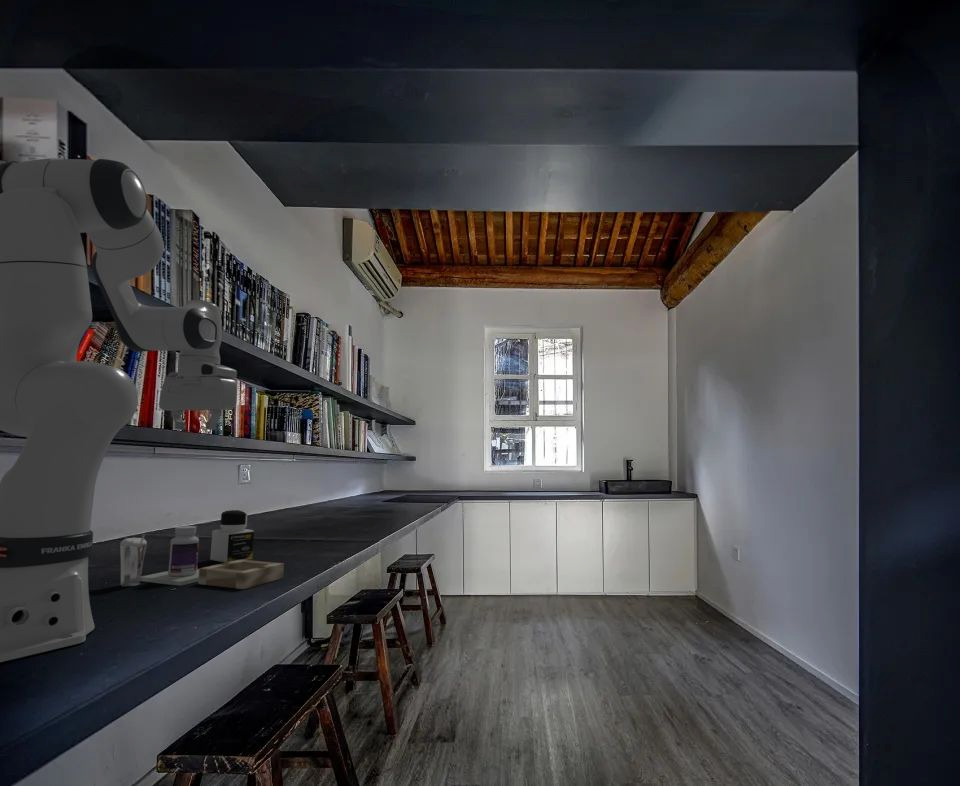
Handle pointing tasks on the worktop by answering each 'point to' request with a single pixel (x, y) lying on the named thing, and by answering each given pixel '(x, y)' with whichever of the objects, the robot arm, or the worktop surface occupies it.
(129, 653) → the worktop surface
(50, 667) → the worktop surface
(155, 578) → the sage mat
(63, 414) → the robot arm
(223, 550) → the medicine bottle
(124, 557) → the milkshake
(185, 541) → the pill bottle
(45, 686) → the worktop surface
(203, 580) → the socket block
